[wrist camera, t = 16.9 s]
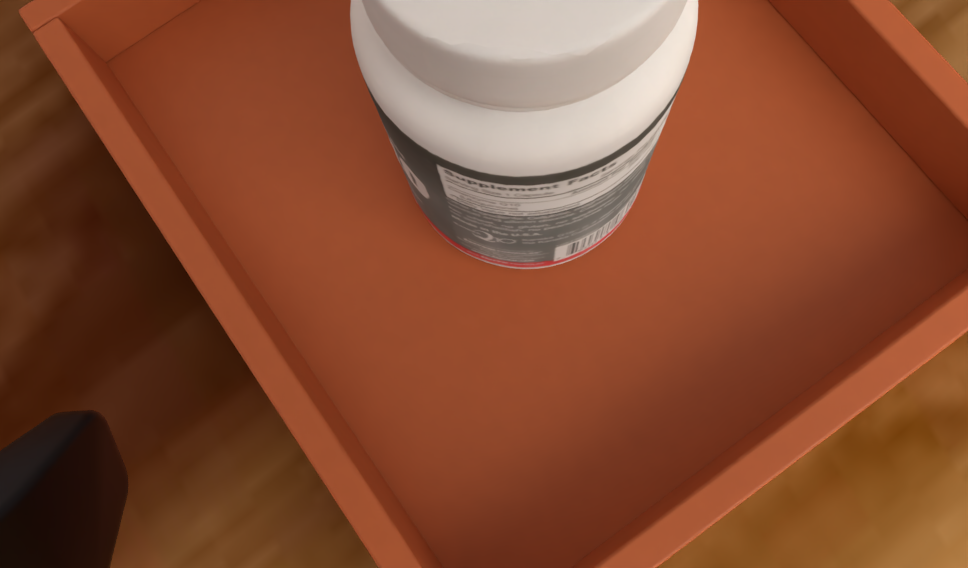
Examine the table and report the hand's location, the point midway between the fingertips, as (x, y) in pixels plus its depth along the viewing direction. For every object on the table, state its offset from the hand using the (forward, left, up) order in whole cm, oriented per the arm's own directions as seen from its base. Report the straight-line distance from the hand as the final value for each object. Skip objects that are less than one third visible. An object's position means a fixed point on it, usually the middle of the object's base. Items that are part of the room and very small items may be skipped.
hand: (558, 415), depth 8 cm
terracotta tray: (+5, -3, -9) cm, 10 cm away
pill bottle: (+5, -3, -8) cm, 10 cm away
